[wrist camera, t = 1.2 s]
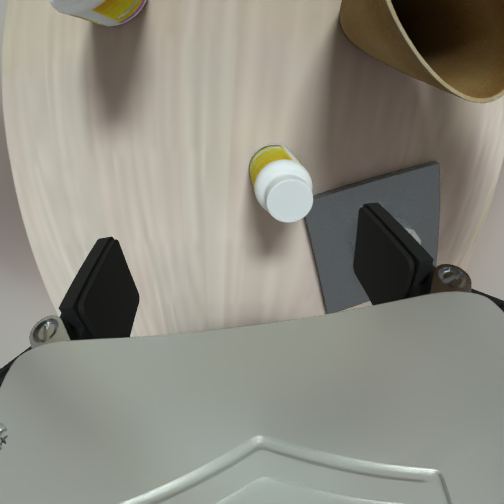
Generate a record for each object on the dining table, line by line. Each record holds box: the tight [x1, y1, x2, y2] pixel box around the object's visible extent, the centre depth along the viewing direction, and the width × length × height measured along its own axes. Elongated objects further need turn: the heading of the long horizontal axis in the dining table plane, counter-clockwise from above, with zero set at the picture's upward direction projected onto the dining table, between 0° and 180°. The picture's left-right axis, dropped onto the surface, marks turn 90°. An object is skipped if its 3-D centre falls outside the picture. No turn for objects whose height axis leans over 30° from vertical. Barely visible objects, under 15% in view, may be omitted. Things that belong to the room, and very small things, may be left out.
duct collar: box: [305, 161, 440, 314], centre depth 37 cm, size 20×20×4 cm
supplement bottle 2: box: [249, 144, 313, 223], centre depth 28 cm, size 5×5×10 cm
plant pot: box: [340, 0, 504, 103], centre depth 16 cm, size 15×15×16 cm
